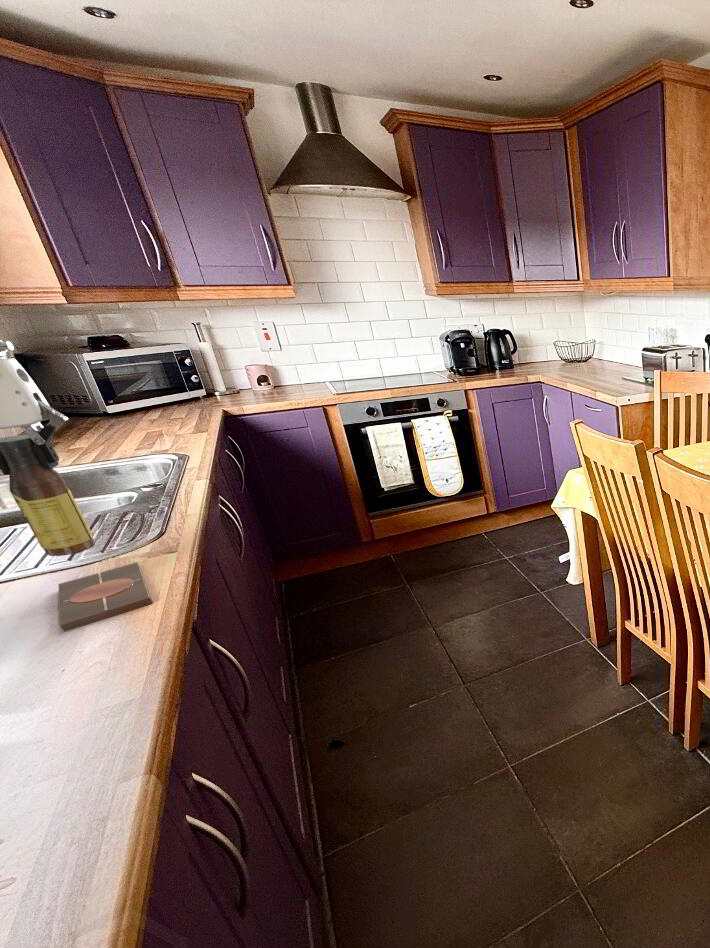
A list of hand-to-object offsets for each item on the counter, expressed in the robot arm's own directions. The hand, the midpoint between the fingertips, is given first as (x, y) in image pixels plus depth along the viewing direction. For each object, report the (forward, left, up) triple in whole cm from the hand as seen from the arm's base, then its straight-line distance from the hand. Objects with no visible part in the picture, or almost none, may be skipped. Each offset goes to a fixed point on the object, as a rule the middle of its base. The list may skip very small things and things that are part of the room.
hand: (31, 468), depth 94 cm
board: (0, 0, -24) cm, 24 cm away
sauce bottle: (-1, 0, -15) cm, 15 cm away
